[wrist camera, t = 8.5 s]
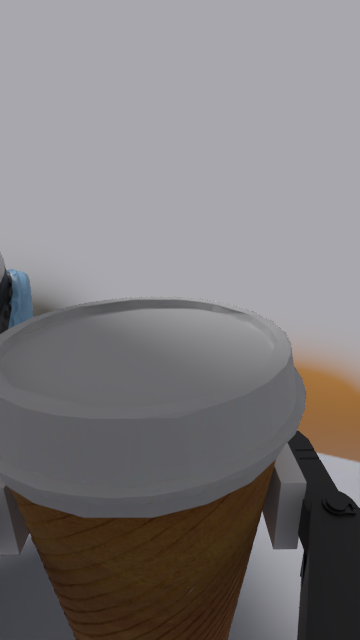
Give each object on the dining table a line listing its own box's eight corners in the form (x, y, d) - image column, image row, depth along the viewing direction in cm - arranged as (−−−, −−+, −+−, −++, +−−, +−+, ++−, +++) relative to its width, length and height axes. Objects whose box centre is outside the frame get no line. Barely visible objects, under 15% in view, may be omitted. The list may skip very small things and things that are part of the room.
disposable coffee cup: (250, 504, 18) (266, 293, 14) (309, 804, 9) (400, 443, 5) (81, 499, 18) (52, 294, 14) (-29, 782, 9) (-186, 432, 5)
